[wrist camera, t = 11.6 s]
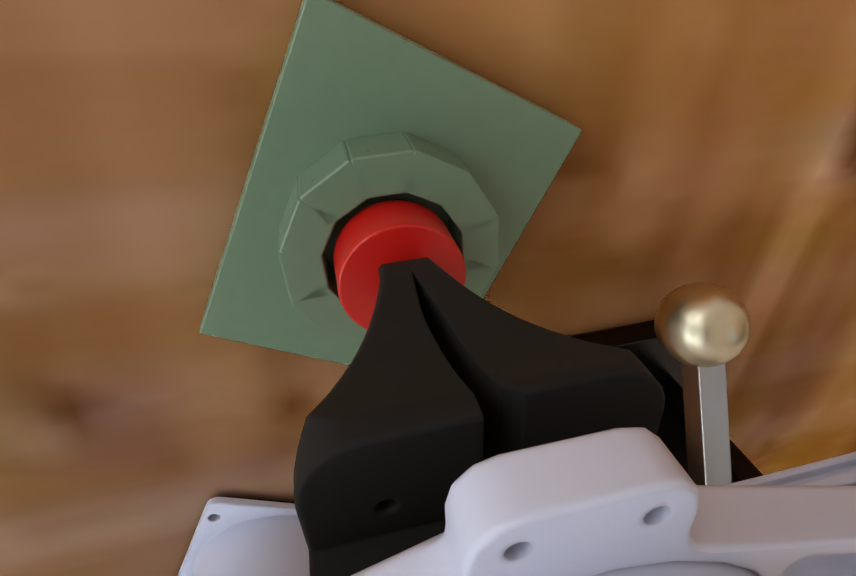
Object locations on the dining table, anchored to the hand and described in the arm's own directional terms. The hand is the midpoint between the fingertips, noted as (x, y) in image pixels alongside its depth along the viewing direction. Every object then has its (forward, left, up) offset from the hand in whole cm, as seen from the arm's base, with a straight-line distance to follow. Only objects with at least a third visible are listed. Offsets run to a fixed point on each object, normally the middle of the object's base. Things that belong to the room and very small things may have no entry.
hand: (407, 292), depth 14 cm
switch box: (0, 0, -5) cm, 5 cm away
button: (0, 0, -2) cm, 2 cm away
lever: (-3, -13, 0) cm, 14 cm away
